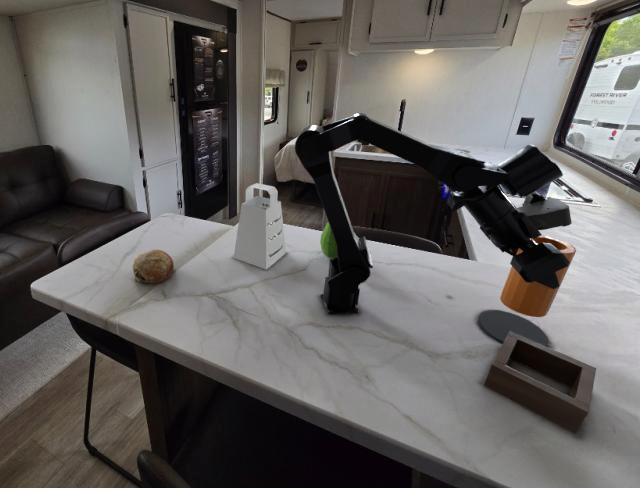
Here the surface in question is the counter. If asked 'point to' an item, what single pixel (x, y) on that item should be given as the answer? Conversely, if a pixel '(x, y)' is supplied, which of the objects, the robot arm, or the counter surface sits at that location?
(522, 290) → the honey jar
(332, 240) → the avocado
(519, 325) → the coaster
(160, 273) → the bread roll
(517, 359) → the open rectangular box
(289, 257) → the counter surface
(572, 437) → the counter surface
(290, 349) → the counter surface
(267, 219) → the grater
